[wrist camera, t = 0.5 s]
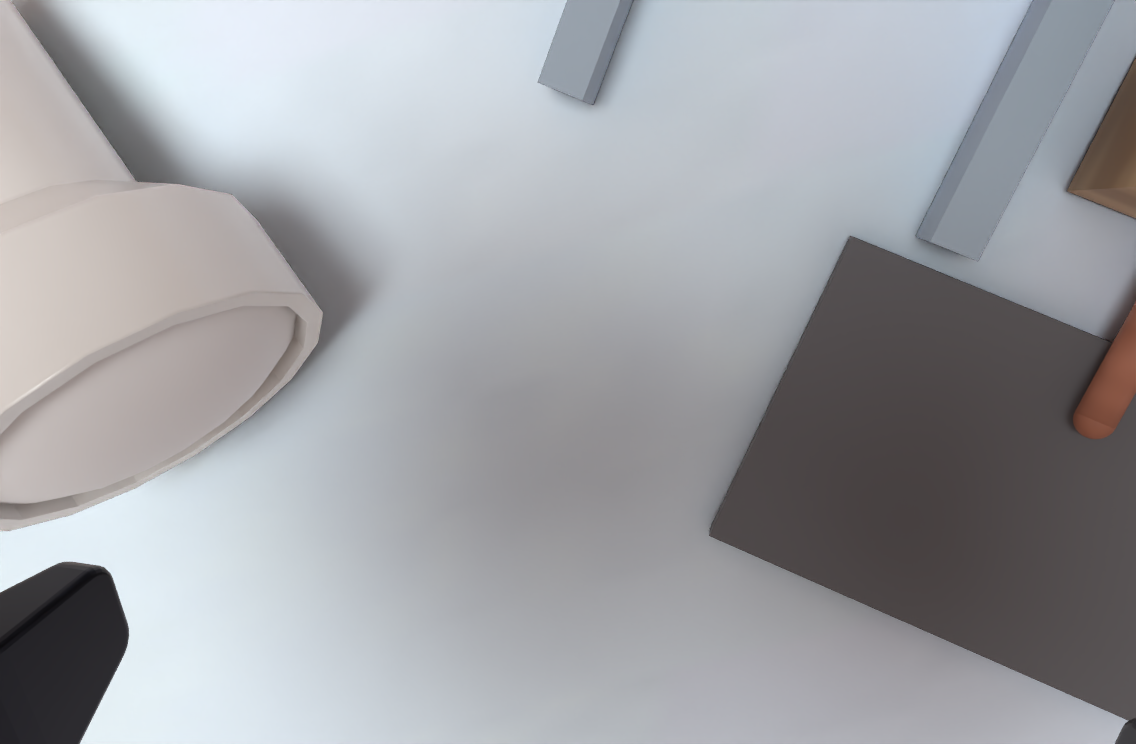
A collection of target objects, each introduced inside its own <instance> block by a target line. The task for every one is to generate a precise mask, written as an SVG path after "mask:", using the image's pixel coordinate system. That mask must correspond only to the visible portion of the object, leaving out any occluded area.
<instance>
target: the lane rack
mask: <svg viewBox="0 0 1136 744" xmlns="http://www.w3.org/2000/svg"><path fill="white" fill-rule="evenodd" d="M1114 1H1115V0H1033V2H1032V4H1031V6H1030V8H1029V10H1028V12H1027V14H1026V16H1025V18H1024V20H1023V22H1022V24H1021V26H1020V28H1019V30H1018V32H1017V34H1016V36H1015V38H1014V40H1013V42H1012V44H1011V46H1010V48H1009V50H1008V52H1007V54H1006V56H1005V58H1004V60H1003V62H1002V64H1001V66H1000V68H999V70H998V72H997V74H996V76H995V78H994V80H993V82H992V84H991V86H990V88H989V90H988V92H987V94H986V96H985V98H984V100H983V102H982V104H981V106H980V108H979V110H978V112H977V114H976V116H975V118H974V120H973V122H972V124H971V126H970V128H969V130H968V132H967V134H966V136H965V138H964V140H963V142H962V144H961V146H960V148H959V150H958V152H957V154H956V156H955V158H954V160H953V162H952V164H951V166H950V168H949V170H948V172H947V174H946V176H945V178H944V180H943V182H942V184H941V186H940V188H939V190H938V192H937V194H936V196H935V198H934V200H933V202H932V204H931V206H930V208H929V210H928V212H927V214H926V216H925V218H924V220H923V222H922V224H921V226H920V228H919V230H918V232H917V234H916V237H919V238H921V239H924V240H926V241H928V242H931V243H933V244H936V245H938V246H941V247H943V248H946V249H948V250H951V251H953V252H955V253H958V254H960V255H963V256H965V257H968V258H971V259H973V260H976V261H979V259H980V257H981V255H982V253H983V251H984V249H985V247H986V245H987V243H988V241H989V240H990V238H991V236H992V234H993V232H994V230H995V228H996V226H997V224H998V222H999V220H1000V219H1001V217H1002V215H1003V213H1004V211H1005V209H1006V207H1007V205H1008V203H1009V201H1010V199H1011V197H1012V196H1013V194H1014V192H1015V190H1016V188H1017V186H1018V184H1019V182H1020V180H1021V178H1022V176H1023V175H1024V173H1025V171H1026V169H1027V167H1028V165H1029V163H1030V161H1031V159H1032V157H1033V155H1034V154H1035V152H1036V150H1037V148H1038V146H1039V144H1040V142H1041V140H1042V138H1043V136H1044V134H1045V133H1046V131H1047V129H1048V127H1049V125H1050V123H1051V121H1052V119H1053V117H1054V115H1055V113H1056V112H1057V110H1058V108H1059V106H1060V104H1061V102H1062V100H1063V98H1064V96H1065V94H1066V92H1067V91H1068V89H1069V87H1070V85H1071V83H1072V81H1073V79H1074V77H1075V75H1076V73H1077V71H1078V70H1079V68H1080V66H1081V64H1082V62H1083V60H1084V58H1085V56H1086V54H1087V52H1088V50H1089V49H1090V47H1091V45H1092V43H1093V41H1094V39H1095V37H1096V35H1097V33H1098V31H1099V29H1100V27H1101V26H1102V24H1103V22H1104V20H1105V18H1106V16H1107V14H1108V12H1109V10H1110V8H1111V6H1112V5H1113V3H1114ZM632 2H633V0H567V2H566V5H565V8H564V11H563V13H562V16H561V19H560V22H559V24H558V27H557V30H556V33H555V36H554V38H553V41H552V44H551V47H550V49H549V52H548V55H547V58H546V60H545V63H544V66H543V69H542V71H541V74H540V77H539V80H538V83H540V84H543V85H545V86H547V87H550V88H552V89H555V90H557V91H560V92H562V93H565V94H567V95H569V96H572V97H574V98H577V99H579V100H582V101H584V102H587V103H589V104H592V105H593V104H594V101H595V99H596V96H597V94H598V91H599V88H600V86H601V83H602V80H603V78H604V75H605V73H606V70H607V67H608V65H609V62H610V60H611V57H612V54H613V52H614V49H615V46H616V44H617V41H618V39H619V36H620V33H621V31H622V28H623V25H624V23H625V20H626V18H627V15H628V12H629V10H630V7H631V4H632Z"/></svg>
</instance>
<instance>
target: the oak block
mask: <svg viewBox="0 0 1136 744" xmlns="http://www.w3.org/2000/svg"><path fill="white" fill-rule="evenodd" d="M1067 191H1068V192H1070V193H1073V194H1075V195H1078V196H1081V197H1083V198H1086V199H1088V200H1091V201H1093V202H1096V203H1098V204H1101V205H1103V206H1106V207H1108V208H1111V209H1113V210H1116V211H1118V212H1121V213H1123V214H1126V215H1128V216H1131V217H1133V218H1136V58H1135V60H1134V62H1133V64H1132V66H1131V68H1130V70H1129V72H1128V74H1127V76H1126V78H1125V80H1124V81H1123V83H1122V85H1121V87H1120V89H1119V91H1118V93H1117V95H1116V97H1115V99H1114V101H1113V103H1112V105H1111V107H1110V108H1109V110H1108V112H1107V114H1106V116H1105V118H1104V120H1103V122H1102V124H1101V126H1100V128H1099V130H1098V132H1097V134H1096V136H1095V137H1094V139H1093V141H1092V143H1091V145H1090V147H1089V149H1088V151H1087V153H1086V155H1085V157H1084V159H1083V161H1082V163H1081V164H1080V166H1079V168H1078V170H1077V172H1076V174H1075V176H1074V178H1073V180H1072V182H1071V184H1070V186H1069V188H1068V190H1067ZM1135 393H1136V301H1135V303H1134V305H1133V307H1132V309H1131V310H1130V312H1129V314H1128V316H1127V318H1126V320H1125V321H1124V323H1123V325H1122V327H1121V329H1120V330H1119V332H1118V334H1117V336H1116V338H1115V340H1114V341H1113V343H1112V345H1111V347H1110V349H1109V350H1108V352H1107V354H1106V356H1105V358H1104V360H1103V361H1102V363H1101V365H1100V367H1099V369H1098V370H1097V372H1096V374H1095V376H1094V378H1093V380H1092V381H1091V383H1090V385H1089V387H1088V389H1087V390H1086V392H1085V394H1084V396H1083V398H1082V400H1081V401H1080V403H1079V405H1078V407H1077V409H1076V410H1075V413H1074V415H1073V423H1074V426H1075V428H1076V430H1077V431H1078V432H1079V433H1080V434H1081V435H1082V436H1084V437H1087V438H1089V439H1102V438H1105V437H1107V436H1109V435H1110V434H1112V433H1113V432H1114V430H1115V429H1116V427H1117V425H1118V423H1119V422H1120V420H1121V418H1122V416H1123V415H1124V413H1125V411H1126V409H1127V407H1128V406H1129V404H1130V402H1131V400H1132V399H1133V397H1134V395H1135Z"/></svg>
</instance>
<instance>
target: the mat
mask: <svg viewBox="0 0 1136 744" xmlns="http://www.w3.org/2000/svg"><path fill="white" fill-rule="evenodd" d="M1111 345H1112V343H1111V342H1109V341H1106V340H1104V339H1102V338H1099V337H1097V336H1094V335H1092V334H1089V333H1087V332H1084V331H1082V330H1080V329H1077V328H1075V327H1072V326H1070V325H1067V324H1065V323H1062V322H1060V321H1058V320H1055V319H1053V318H1050V317H1048V316H1045V315H1043V314H1040V313H1038V312H1036V311H1033V310H1031V309H1028V308H1026V307H1023V306H1021V305H1018V304H1016V303H1014V302H1011V301H1009V300H1006V299H1004V298H1001V297H999V296H996V295H994V294H992V293H989V292H987V291H984V290H982V289H979V288H977V287H974V286H972V285H970V284H967V283H965V282H962V281H960V280H957V279H955V278H952V277H950V276H948V275H945V274H943V273H940V272H938V271H935V270H933V269H930V268H928V267H925V266H923V265H921V264H918V263H916V262H913V261H911V260H908V259H906V258H903V257H901V256H899V255H896V254H894V253H891V252H889V251H886V250H884V249H881V248H879V247H877V246H874V245H872V244H869V243H867V242H864V241H862V240H859V239H857V238H855V237H852V236H850V237H849V239H848V241H847V243H846V246H845V248H844V250H843V252H842V254H841V256H840V258H839V260H838V262H837V264H836V266H835V268H834V271H833V273H832V275H831V277H830V279H829V281H828V283H827V285H826V287H825V289H824V291H823V294H822V296H821V298H820V300H819V302H818V304H817V306H816V308H815V310H814V312H813V314H812V317H811V319H810V321H809V323H808V325H807V327H806V329H805V331H804V333H803V335H802V337H801V340H800V342H799V344H798V346H797V348H796V350H795V352H794V354H793V356H792V358H791V360H790V362H789V365H788V367H787V369H786V371H785V373H784V375H783V377H782V379H781V381H780V383H779V385H778V388H777V390H776V392H775V394H774V396H773V398H772V400H771V402H770V404H769V406H768V408H767V411H766V413H765V415H764V417H763V419H762V421H761V423H760V425H759V427H758V429H757V431H756V434H755V436H754V438H753V440H752V442H751V444H750V446H749V448H748V450H747V452H746V454H745V456H744V459H743V461H742V463H741V465H740V467H739V469H738V471H737V473H736V475H735V477H734V479H733V482H732V484H731V486H730V488H729V490H728V492H727V494H726V496H725V498H724V500H723V502H722V505H721V507H720V509H719V511H718V513H717V515H716V517H715V519H714V521H713V523H712V525H711V528H710V532H709V536H711V537H713V538H715V539H718V540H720V541H722V542H724V543H727V544H729V545H731V546H734V547H736V548H738V549H740V550H743V551H745V552H747V553H749V554H752V555H754V556H756V557H759V558H761V559H763V560H765V561H768V562H770V563H772V564H774V565H777V566H779V567H781V568H783V569H786V570H788V571H790V572H793V573H795V574H797V575H799V576H802V577H804V578H806V579H808V580H811V581H813V582H815V583H818V584H820V585H822V586H824V587H827V588H829V589H831V590H833V591H836V592H838V593H840V594H843V595H845V596H847V597H849V598H852V599H854V600H856V601H858V602H861V603H863V604H865V605H867V606H870V607H872V608H874V609H877V610H879V611H881V612H883V613H886V614H888V615H890V616H892V617H895V618H897V619H899V620H902V621H904V622H906V623H908V624H911V625H913V626H915V627H917V628H920V629H922V630H924V631H926V632H929V633H931V634H933V635H936V636H938V637H940V638H942V639H945V640H947V641H949V642H951V643H954V644H956V645H958V646H961V647H963V648H965V649H967V650H970V651H972V652H974V653H976V654H979V655H981V656H983V657H986V658H988V659H990V660H992V661H995V662H997V663H999V664H1001V665H1004V666H1006V667H1008V668H1010V669H1013V670H1015V671H1017V672H1020V673H1022V674H1024V675H1026V676H1029V677H1031V678H1033V679H1035V680H1038V681H1040V682H1042V683H1045V684H1047V685H1049V686H1051V687H1054V688H1056V689H1058V690H1060V691H1063V692H1065V693H1067V694H1069V695H1072V696H1074V697H1076V698H1079V699H1081V700H1083V701H1085V702H1088V703H1090V704H1092V705H1094V706H1097V707H1099V708H1101V709H1104V710H1106V711H1108V712H1110V713H1113V714H1115V715H1117V716H1119V717H1122V718H1124V719H1126V720H1129V721H1130V720H1131V719H1133V718H1136V393H1135V395H1134V397H1133V399H1132V400H1131V402H1130V404H1129V406H1128V407H1127V409H1126V411H1125V413H1124V415H1123V416H1122V418H1121V420H1120V422H1119V423H1118V425H1117V427H1116V429H1115V430H1114V432H1113V433H1112V434H1110V435H1109V436H1107V437H1105V438H1102V439H1089V438H1087V437H1084V436H1082V435H1081V434H1080V433H1079V432H1078V431H1077V430H1076V428H1075V426H1074V423H1073V415H1074V413H1075V410H1076V409H1077V407H1078V405H1079V403H1080V401H1081V400H1082V398H1083V396H1084V394H1085V392H1086V390H1087V389H1088V387H1089V385H1090V383H1091V381H1092V380H1093V378H1094V376H1095V374H1096V372H1097V370H1098V369H1099V367H1100V365H1101V363H1102V361H1103V360H1104V358H1105V356H1106V354H1107V352H1108V350H1109V349H1110V347H1111Z"/></svg>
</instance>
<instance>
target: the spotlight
mask: <svg viewBox="0 0 1136 744" xmlns="http://www.w3.org/2000/svg"><path fill="white" fill-rule="evenodd" d="M322 318H323V312H322V310H321V309H320V308H319V306H318V305H317V303H316V302H315V301H314V299H313V298H312V296H311V295H310V294H309V292H308V291H307V289H306V288H305V287H304V285H303V284H302V282H301V281H300V279H299V278H298V277H297V275H296V274H295V272H294V271H293V270H292V268H291V267H290V265H289V264H288V263H287V261H286V260H285V258H284V257H283V256H282V254H281V253H280V251H279V250H278V249H277V247H276V246H275V244H274V243H273V242H272V240H271V239H270V237H269V236H268V235H267V233H266V232H265V230H264V229H263V228H262V226H261V225H260V223H259V222H258V221H257V219H256V218H255V217H254V216H253V215H252V214H251V213H250V212H249V211H248V210H247V209H246V208H245V207H244V206H243V205H242V204H241V203H240V202H239V201H238V200H237V199H236V198H235V197H234V196H233V195H232V194H228V193H223V192H218V191H212V190H207V189H202V188H196V187H191V186H186V185H181V184H169V183H150V182H136V180H135V179H134V177H133V176H132V174H131V173H130V171H129V170H128V169H127V167H126V166H125V164H124V163H123V161H122V160H121V159H120V157H119V156H118V154H117V153H116V151H115V150H114V148H113V147H112V146H111V144H110V143H109V141H108V140H107V138H106V137H105V135H104V134H103V133H102V131H101V130H100V128H99V127H98V125H97V124H96V122H95V121H94V120H93V118H92V117H91V115H90V114H89V112H88V111H87V110H86V108H85V107H84V105H83V104H82V102H81V101H80V99H79V98H78V97H77V95H76V94H75V92H74V91H73V89H72V88H71V86H70V85H69V84H68V82H67V81H66V79H65V78H64V76H63V75H62V73H61V72H60V71H59V69H58V68H57V66H56V65H55V63H54V62H53V61H52V59H51V58H50V56H49V55H48V53H47V52H46V50H45V49H44V48H43V46H42V45H41V43H40V42H39V40H38V39H37V37H36V36H35V35H34V33H33V32H32V30H31V29H30V27H29V26H28V25H27V23H26V22H25V20H24V19H23V17H22V16H21V14H20V13H19V12H18V10H17V9H16V7H15V6H14V4H13V3H12V1H11V0H0V531H11V530H15V529H19V528H23V527H27V526H31V525H35V524H38V523H42V522H46V521H50V520H54V519H58V518H62V517H66V516H70V515H72V514H75V513H77V512H80V511H82V510H84V509H87V508H89V507H92V506H94V505H96V504H99V503H101V502H104V501H106V500H108V499H111V498H113V497H116V496H118V495H120V494H123V493H125V492H128V491H130V490H132V489H135V488H137V487H139V486H140V485H142V484H144V483H146V482H148V481H150V480H151V479H153V478H155V477H157V476H159V475H160V474H162V473H164V472H166V471H168V470H169V469H171V468H173V467H175V466H177V465H178V464H180V463H182V462H184V461H186V460H188V459H189V458H191V457H193V456H195V455H197V454H198V453H200V452H201V451H202V450H204V449H205V448H207V447H208V446H210V445H211V444H212V443H214V442H215V441H217V440H218V439H219V438H221V437H222V436H224V435H225V434H227V433H228V432H229V431H231V430H232V429H234V428H235V427H237V426H238V425H239V424H241V423H242V422H244V421H245V420H247V419H248V418H249V417H251V416H252V415H253V414H254V413H255V412H256V411H257V410H258V409H260V408H261V407H262V406H263V405H264V404H265V403H266V402H267V401H268V400H269V399H270V398H272V397H273V396H274V395H275V394H276V393H277V392H278V391H279V390H280V389H281V388H282V387H284V386H285V385H286V384H287V383H288V382H289V381H290V380H291V379H292V378H293V377H294V375H295V374H296V373H297V371H298V370H299V368H300V367H301V366H302V364H303V363H304V361H305V360H306V359H307V357H308V356H309V355H310V353H311V352H312V350H313V349H314V348H315V346H316V345H317V343H318V340H319V334H320V329H321V323H322Z"/></svg>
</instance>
